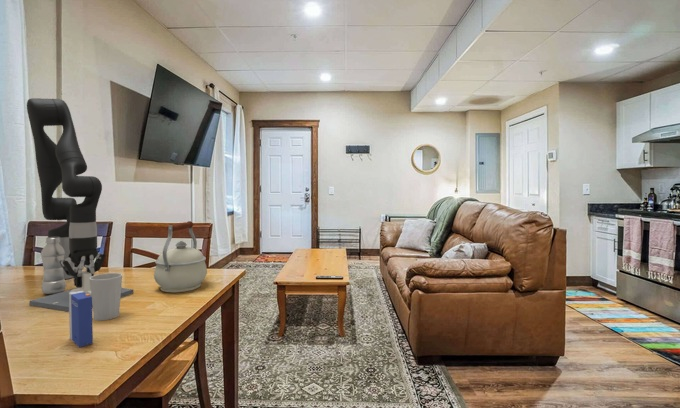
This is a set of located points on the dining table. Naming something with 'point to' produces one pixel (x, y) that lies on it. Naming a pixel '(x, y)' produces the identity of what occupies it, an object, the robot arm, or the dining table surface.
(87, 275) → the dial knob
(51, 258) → the plastic bottle
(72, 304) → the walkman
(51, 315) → the dining table surface
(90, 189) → the robot arm
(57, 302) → the dial plate
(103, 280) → the cup
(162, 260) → the kettle
